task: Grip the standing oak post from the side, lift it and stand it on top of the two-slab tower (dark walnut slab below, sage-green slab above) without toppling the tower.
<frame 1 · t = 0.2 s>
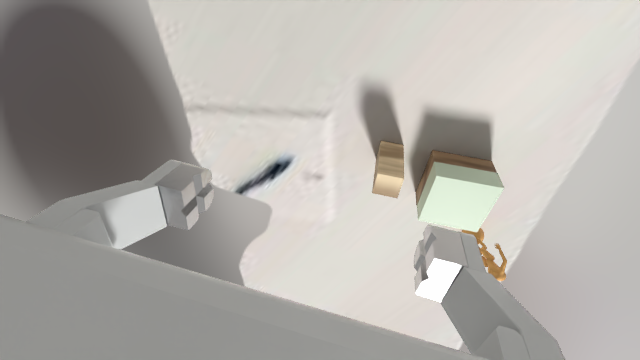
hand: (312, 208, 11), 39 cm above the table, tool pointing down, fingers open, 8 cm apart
figurine: (475, 228, 60), on the table
oak post: (389, 152, 53), on the table
tower top: (454, 190, 51), point 4 cm above the table, touching tower base
tower base: (450, 176, 54), on the table, touching tower top
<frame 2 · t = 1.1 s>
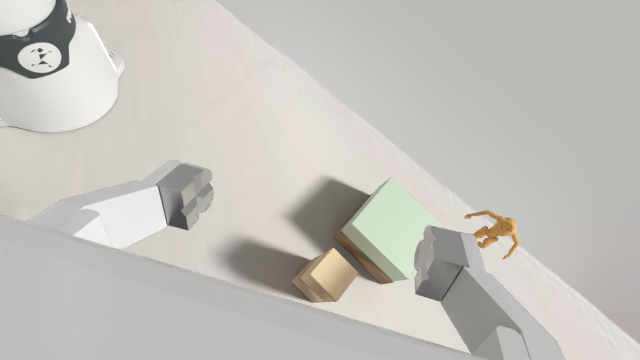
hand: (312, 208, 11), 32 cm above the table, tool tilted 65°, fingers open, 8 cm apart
figurine: (450, 247, 50), on the table
oak post: (311, 280, 41), on the table
tower top: (385, 230, 43), point 4 cm above the table, touching tower base
tower base: (374, 237, 47), on the table, touching tower top
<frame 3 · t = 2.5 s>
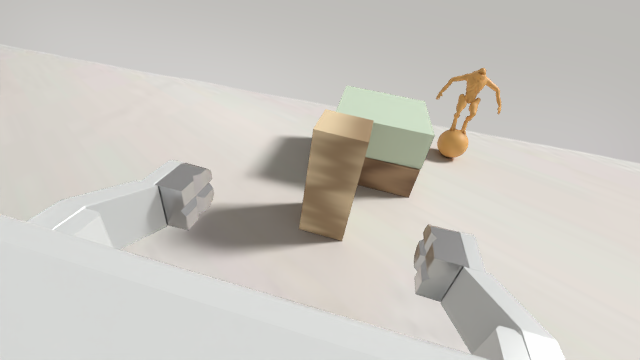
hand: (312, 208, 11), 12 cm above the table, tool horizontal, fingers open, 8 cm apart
figurine: (446, 153, 43), on the table
oak post: (325, 220, 28), on the table
tower top: (375, 138, 35), point 4 cm above the table, touching tower base
tower base: (367, 166, 37), on the table, touching tower top
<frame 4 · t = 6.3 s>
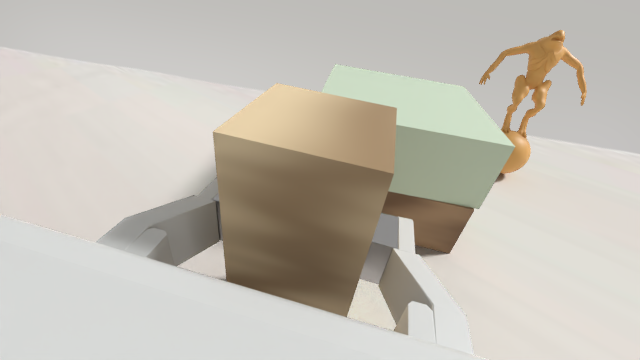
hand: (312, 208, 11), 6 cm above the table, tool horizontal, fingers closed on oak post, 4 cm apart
figurine: (491, 166, 29), on the table
oak post: (293, 318, 13), on the table, touching gripper
tower top: (387, 150, 21), point 4 cm above the table, touching tower base
tower base: (374, 193, 23), on the table, touching tower top
when the fingers open (15 cm above the table, at t = 10.8 s): oak post drops 1 cm, resting on tower top.
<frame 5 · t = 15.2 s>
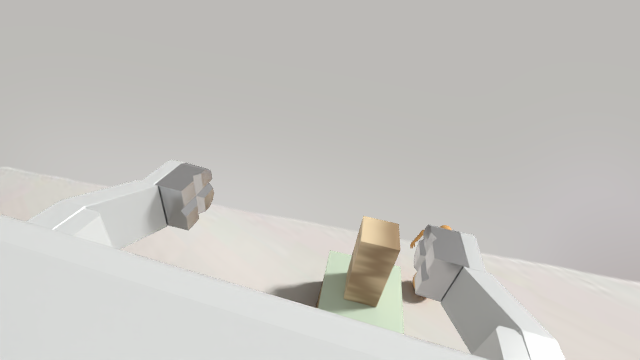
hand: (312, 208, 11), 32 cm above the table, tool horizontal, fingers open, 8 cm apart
oak post: (360, 289, 37), point 8 cm above the table, touching tower top
tower top: (356, 306, 39), point 4 cm above the table, touching oak post, tower base
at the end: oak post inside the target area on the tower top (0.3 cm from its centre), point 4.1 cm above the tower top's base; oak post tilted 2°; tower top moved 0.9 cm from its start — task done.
